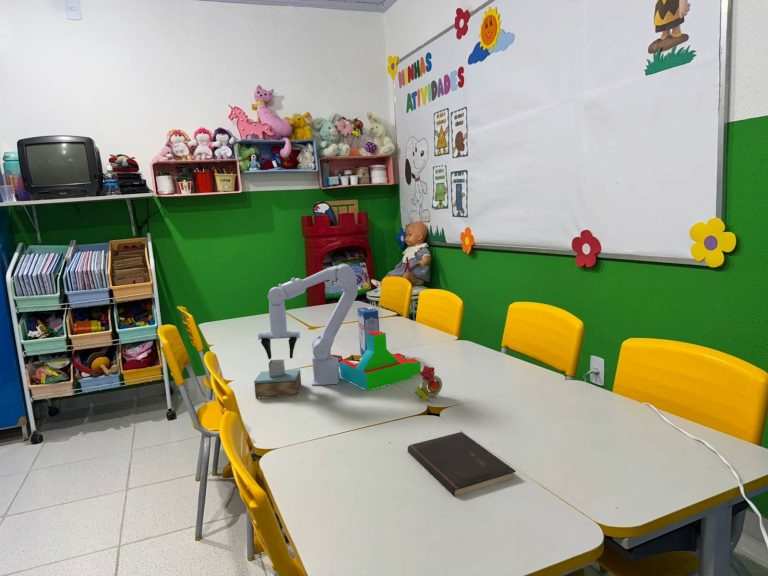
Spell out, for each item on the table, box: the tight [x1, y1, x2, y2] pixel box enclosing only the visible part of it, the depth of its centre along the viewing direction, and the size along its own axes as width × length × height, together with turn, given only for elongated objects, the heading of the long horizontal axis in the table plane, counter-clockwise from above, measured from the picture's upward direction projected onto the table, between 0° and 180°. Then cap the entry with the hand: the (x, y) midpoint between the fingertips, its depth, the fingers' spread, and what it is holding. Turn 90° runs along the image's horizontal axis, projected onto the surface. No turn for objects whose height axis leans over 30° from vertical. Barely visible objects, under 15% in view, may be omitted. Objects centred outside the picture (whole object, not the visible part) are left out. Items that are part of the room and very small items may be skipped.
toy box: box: [253, 372, 302, 399], centre depth 179 cm, size 14×11×5 cm
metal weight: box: [268, 359, 286, 378], centre depth 177 cm, size 4×4×5 cm
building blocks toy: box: [339, 330, 422, 391], centre depth 188 cm, size 19×25×18 cm
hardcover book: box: [407, 431, 517, 498], centre depth 122 cm, size 16×23×2 cm
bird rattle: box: [413, 365, 443, 402], centre depth 164 cm, size 6×11×9 cm
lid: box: [253, 368, 301, 384], centre depth 178 cm, size 14×11×1 cm
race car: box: [331, 354, 344, 363], centre depth 206 cm, size 13×5×4 cm, turn 135°
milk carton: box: [357, 306, 380, 357], centre depth 214 cm, size 10×6×20 cm, turn 17°
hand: (280, 358), depth 183 cm, fingers open, 7 cm apart
